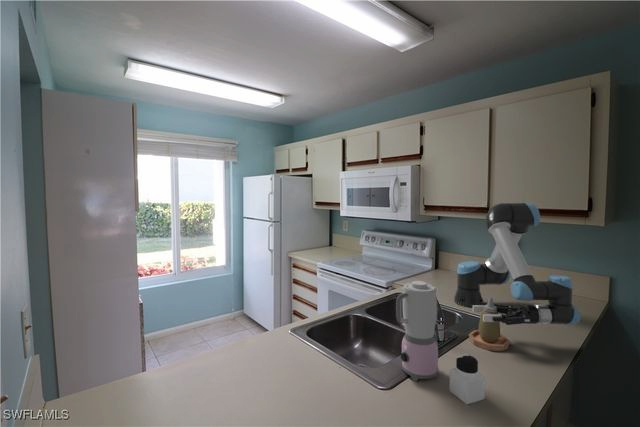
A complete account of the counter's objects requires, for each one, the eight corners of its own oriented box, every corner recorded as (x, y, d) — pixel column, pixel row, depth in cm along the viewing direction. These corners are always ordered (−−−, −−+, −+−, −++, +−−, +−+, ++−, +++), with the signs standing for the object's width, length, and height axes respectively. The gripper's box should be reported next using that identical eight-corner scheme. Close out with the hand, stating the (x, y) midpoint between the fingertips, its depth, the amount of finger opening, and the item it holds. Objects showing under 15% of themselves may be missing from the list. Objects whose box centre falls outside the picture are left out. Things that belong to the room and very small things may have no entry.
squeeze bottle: (503, 345, 121) (505, 302, 120) (481, 343, 123) (483, 300, 121) (495, 336, 129) (497, 295, 128) (475, 334, 130) (477, 294, 129)
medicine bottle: (485, 399, 91) (485, 361, 90) (467, 405, 89) (467, 366, 88) (466, 385, 98) (466, 349, 97) (449, 390, 95) (449, 354, 95)
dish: (465, 334, 133) (465, 329, 133) (498, 335, 132) (498, 330, 132) (478, 350, 119) (478, 345, 119) (515, 351, 118) (515, 346, 118)
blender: (422, 359, 114) (422, 276, 112) (446, 377, 102) (446, 285, 101) (387, 368, 108) (386, 281, 107) (408, 388, 97) (407, 291, 95)
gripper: (552, 335, 112) (490, 333, 115) (519, 312, 135) (467, 311, 137) (553, 315, 112) (490, 314, 114) (519, 296, 134) (467, 295, 136)
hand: (477, 313), depth 126 cm, fingers open, 9 cm apart
